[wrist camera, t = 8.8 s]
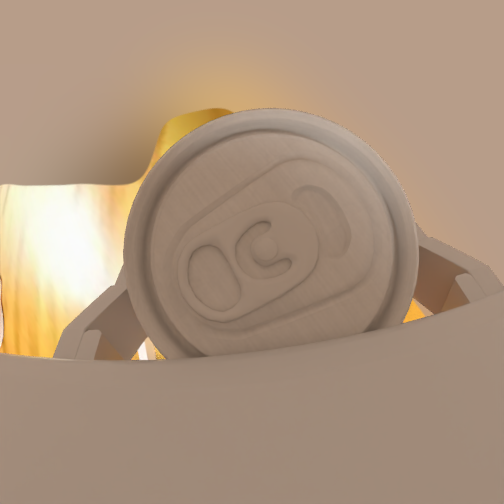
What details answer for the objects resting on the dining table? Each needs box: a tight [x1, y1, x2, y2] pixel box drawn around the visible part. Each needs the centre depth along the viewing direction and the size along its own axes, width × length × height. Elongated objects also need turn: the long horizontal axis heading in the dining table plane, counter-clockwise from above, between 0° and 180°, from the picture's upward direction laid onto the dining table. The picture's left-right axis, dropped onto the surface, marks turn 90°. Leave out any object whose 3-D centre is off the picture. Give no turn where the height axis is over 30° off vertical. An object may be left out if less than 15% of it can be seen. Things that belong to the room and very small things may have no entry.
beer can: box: [123, 108, 419, 359], centre depth 12 cm, size 6×6×15 cm
